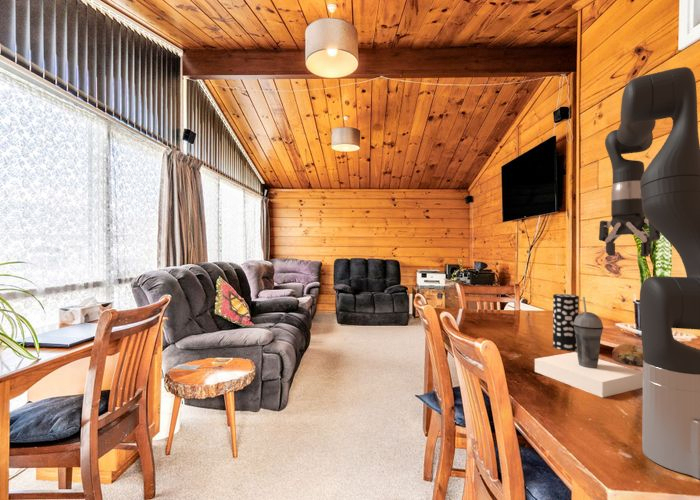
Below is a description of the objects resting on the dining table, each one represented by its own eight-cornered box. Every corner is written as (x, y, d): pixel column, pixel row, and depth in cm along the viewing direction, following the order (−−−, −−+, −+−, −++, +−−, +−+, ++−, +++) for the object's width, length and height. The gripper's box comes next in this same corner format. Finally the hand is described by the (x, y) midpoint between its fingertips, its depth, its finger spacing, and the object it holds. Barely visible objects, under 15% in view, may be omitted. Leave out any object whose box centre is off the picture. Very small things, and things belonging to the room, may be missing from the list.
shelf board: (645, 386, 96) (645, 372, 95) (602, 397, 89) (602, 382, 89) (574, 364, 114) (574, 352, 114) (534, 371, 107) (534, 358, 107)
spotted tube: (548, 346, 135) (548, 294, 134) (562, 343, 138) (562, 293, 138) (569, 352, 127) (569, 297, 127) (583, 349, 131) (583, 296, 130)
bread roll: (653, 376, 113) (659, 353, 114) (636, 366, 110) (642, 342, 111) (620, 366, 122) (626, 345, 124) (603, 357, 119) (609, 335, 120)
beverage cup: (608, 370, 97) (608, 299, 97) (579, 368, 98) (579, 298, 98) (595, 362, 104) (596, 295, 104) (568, 360, 105) (569, 295, 105)
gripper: (593, 201, 104) (593, 255, 104) (649, 194, 90) (648, 256, 91) (609, 202, 106) (609, 255, 107) (666, 196, 93) (665, 256, 93)
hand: (627, 255), depth 99 cm, fingers open, 8 cm apart
